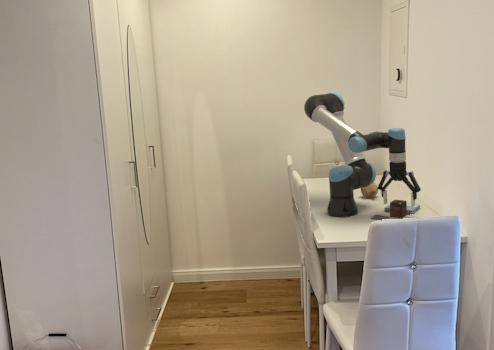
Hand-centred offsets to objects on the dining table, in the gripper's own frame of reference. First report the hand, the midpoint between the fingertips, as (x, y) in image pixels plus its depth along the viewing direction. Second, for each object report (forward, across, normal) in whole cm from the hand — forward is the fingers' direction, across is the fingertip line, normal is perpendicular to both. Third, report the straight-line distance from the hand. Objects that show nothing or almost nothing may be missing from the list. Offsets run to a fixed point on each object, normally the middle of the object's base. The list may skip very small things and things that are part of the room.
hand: (399, 204), depth 233 cm
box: (+6, -1, 0) cm, 6 cm away
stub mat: (+6, -7, -6) cm, 11 cm away
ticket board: (+6, -3, +10) cm, 12 cm away
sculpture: (+5, -27, +26) cm, 38 cm away
